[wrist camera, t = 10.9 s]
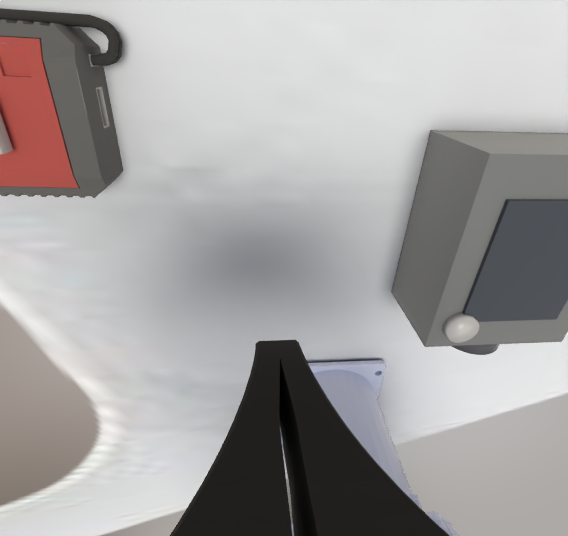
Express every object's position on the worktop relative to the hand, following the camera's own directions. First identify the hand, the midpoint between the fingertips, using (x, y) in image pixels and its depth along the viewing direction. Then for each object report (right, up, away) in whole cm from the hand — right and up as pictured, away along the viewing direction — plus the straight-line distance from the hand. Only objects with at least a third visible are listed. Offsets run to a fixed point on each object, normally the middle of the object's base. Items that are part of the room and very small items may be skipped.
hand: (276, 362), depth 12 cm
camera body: (+12, +6, +9) cm, 16 cm away
